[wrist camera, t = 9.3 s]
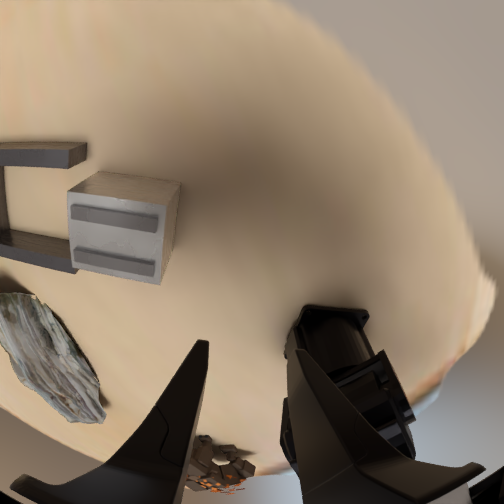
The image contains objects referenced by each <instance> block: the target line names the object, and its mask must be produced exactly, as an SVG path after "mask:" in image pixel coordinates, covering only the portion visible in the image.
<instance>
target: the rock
mask: <svg viewBox="0 0 504 504" xmlns="http://www.w3.org/2000/svg"><path fill="white" fill-rule="evenodd" d="M30 295H32V294H23V293H21V292H19V293H17V292H13V293H0V344H1V345H2V347H3V348H4V349H5V351H6V352H7V353H8V354H9V357H10V362H11V365H12V367H13V370H14V372H15V373H16V375H17V377H18V379H19V380H20V382H21V383H22V384H23V385H24V386H26V387H28V388H29V389H31V390H34V391H36V392H37V393H38V394H39V395H41V396H42V397H43V398H44V400H45V401H46V402H47V403H48V404H50V405H51V406H52V407H53V408H54V409H55V410H57V411H58V412H59V413H60V414H61V415H62V416H64V417H65V418H66V419H67V421H68V422H70V423H75V422H81V423H87V424H91V423H99V424H102V423H103V422H104V420H105V418H106V413H105V411H104V409H103V408H102V406H101V404H100V402H99V392H98V389H99V386H100V384H99V383H98V382H99V381H96V379H97V378H96V376H95V375H94V374H93V373H92V371H91V370H90V368H89V366H88V364H87V363H86V361H85V359H84V358H83V356H82V355H81V353H80V351H79V350H78V349H77V347H76V346H75V344H74V343H73V341H72V340H71V339H70V338H69V336H68V335H67V333H66V332H65V331H64V329H63V328H62V326H61V325H60V324H59V322H58V321H57V320H56V318H55V317H54V316H53V315H52V312H51V309H49V308H48V307H47V305H46V304H45V303H44V305H42V304H41V302H40V301H39V299H38V298H37V297H36V300H34V299H32V298H31V296H30ZM93 376H94V377H95V378H96V379H95V378H94V377H93ZM97 380H98V379H97Z"/></svg>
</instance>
